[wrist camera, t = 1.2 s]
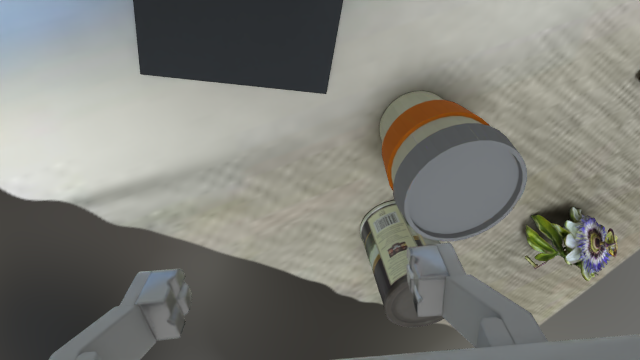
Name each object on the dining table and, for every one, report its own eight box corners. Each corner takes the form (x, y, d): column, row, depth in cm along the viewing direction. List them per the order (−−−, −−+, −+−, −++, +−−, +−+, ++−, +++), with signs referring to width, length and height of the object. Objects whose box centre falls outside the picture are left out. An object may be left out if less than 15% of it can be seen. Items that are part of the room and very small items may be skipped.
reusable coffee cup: (394, 181, 54) (434, 261, 42) (346, 116, 47) (377, 189, 35) (476, 131, 51) (544, 201, 39) (437, 54, 44) (506, 110, 32)
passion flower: (553, 191, 67) (631, 230, 60) (519, 243, 70) (590, 285, 64) (541, 195, 58) (631, 241, 51) (503, 254, 61) (583, 304, 55)
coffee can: (396, 257, 63) (427, 335, 51) (346, 236, 59) (367, 316, 47) (439, 214, 59) (483, 288, 47) (388, 188, 54) (423, 263, 43)
